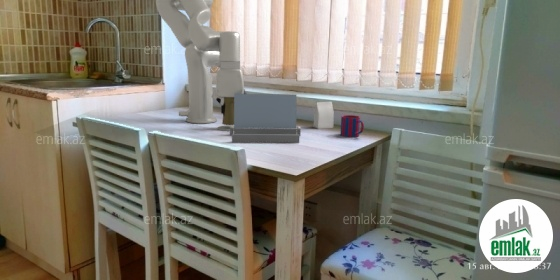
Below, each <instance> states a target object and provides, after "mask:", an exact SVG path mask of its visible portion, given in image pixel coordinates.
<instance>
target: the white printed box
mask: <svg viewBox="0 0 560 280" xmlns="http://www.w3.org/2000/svg"><path fill="white" fill-rule="evenodd" d="M333 107H334V106H333V101H319V102H318V101H317V102H316V105H315V107H314V111H313V128H316V129H317V130H320V129H331V128H332V129H333V128H334V122H335V121H334V120H335V118H334V117H335V112H334V108H333Z"/></svg>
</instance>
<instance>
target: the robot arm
mask: <svg viewBox="0 0 560 280" xmlns="http://www.w3.org/2000/svg"><path fill="white" fill-rule="evenodd" d="M213 4H214V0H155V5H156V10H157V12H158V14H159V15H160V17H161V19H162V20H163V21H164V22H165V23H166V25H167V26H168V27H169V29H170V30H171V32H172V33H173V35H174V36H175V38H176V40H177V41H178V42H179V44H180V45H181V46H182V47H183V48H184V57H185V63H186V67H187V76H188V77H187V79H188V80H187V81H188V105H189V107H188V109H189V110H186V111H183V110H179V111H178V116H179V117H186V118H185V121H186V123H189V124H212V123H215V122H217V121H218V117H216V116H214V106H213V105H214V104H213V103H214V100H215V101H216V102H217V103H218V104H219V105H220V106H221V109H220V111H221V114H222V117H223V116H224V114H225V103H224V98H234V94H248V92H247V91H246V89H245V85H244V84H245V83H244V81H245V80H244V74H243V73H244V72H243V70H242V69H241V35H240V33H239V32H237V31H232V30H231V31H222V30H221V31H220V30H215V29H213V28H212V27H210V26H209V25H208V26H207V25H204V24H206V23H208V21H209V20H210V19H211V16H212V11H211V9H210V8H211V7H212V6H213ZM182 11H185V13H186V14H184V12H182ZM209 67H213V68H214V67H216V68H217V67H218V68H219V69H217V71H216V77H215V89H214V91H213V76H212V74H211V72H210V69H208V68H209Z"/></svg>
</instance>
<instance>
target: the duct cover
mask: <svg viewBox="0 0 560 280" xmlns="http://www.w3.org/2000/svg"><path fill="white" fill-rule="evenodd" d="M234 128H297V94H293V93H292V94H288V93H287V94H283V93H282V94H281V93H277V94H276V93H274V94H272V93H260V94H259V93H247V94H234Z"/></svg>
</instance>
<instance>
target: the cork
mask: <svg viewBox="0 0 560 280" xmlns="http://www.w3.org/2000/svg"><path fill="white" fill-rule="evenodd" d="M224 103H225V114H224V116H223V115H222V122H221V124H222V125H223V126H226V125H234V98H224Z"/></svg>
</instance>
